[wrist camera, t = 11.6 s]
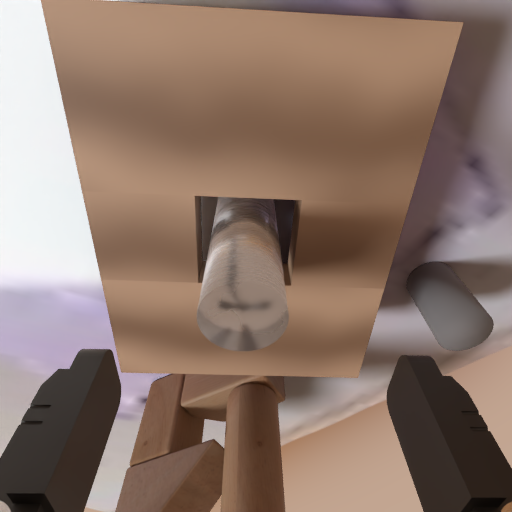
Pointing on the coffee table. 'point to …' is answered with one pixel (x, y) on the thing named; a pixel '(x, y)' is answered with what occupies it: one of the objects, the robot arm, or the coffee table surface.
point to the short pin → (448, 307)
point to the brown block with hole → (245, 163)
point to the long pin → (243, 277)
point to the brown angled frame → (207, 446)
